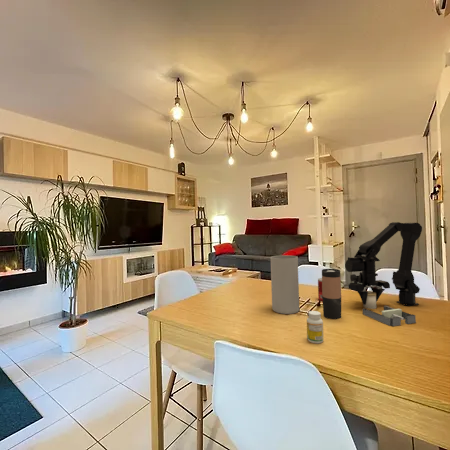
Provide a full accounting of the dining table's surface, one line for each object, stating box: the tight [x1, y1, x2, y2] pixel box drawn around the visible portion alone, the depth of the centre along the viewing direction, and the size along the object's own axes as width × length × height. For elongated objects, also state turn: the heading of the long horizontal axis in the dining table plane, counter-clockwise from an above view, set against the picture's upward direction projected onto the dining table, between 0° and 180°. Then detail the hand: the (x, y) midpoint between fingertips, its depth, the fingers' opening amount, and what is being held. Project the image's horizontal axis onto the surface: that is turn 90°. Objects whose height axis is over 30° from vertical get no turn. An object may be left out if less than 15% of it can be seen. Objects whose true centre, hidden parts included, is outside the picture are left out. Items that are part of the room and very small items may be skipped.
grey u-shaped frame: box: [362, 305, 417, 327], centre depth 108 cm, size 12×15×3 cm
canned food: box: [317, 277, 323, 303], centre depth 135 cm, size 8×8×11 cm
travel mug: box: [321, 268, 342, 320], centre depth 112 cm, size 8×8×20 cm
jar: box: [362, 290, 377, 310], centre depth 123 cm, size 6×6×7 cm
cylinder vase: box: [270, 255, 300, 315], centre depth 122 cm, size 12×12×25 cm
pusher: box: [381, 308, 405, 321], centre depth 104 cm, size 9×6×4 cm, turn 104°
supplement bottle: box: [306, 310, 324, 344], centre depth 90 cm, size 5×5×10 cm
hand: (369, 303), depth 123 cm, fingers closed on jar, 5 cm apart
